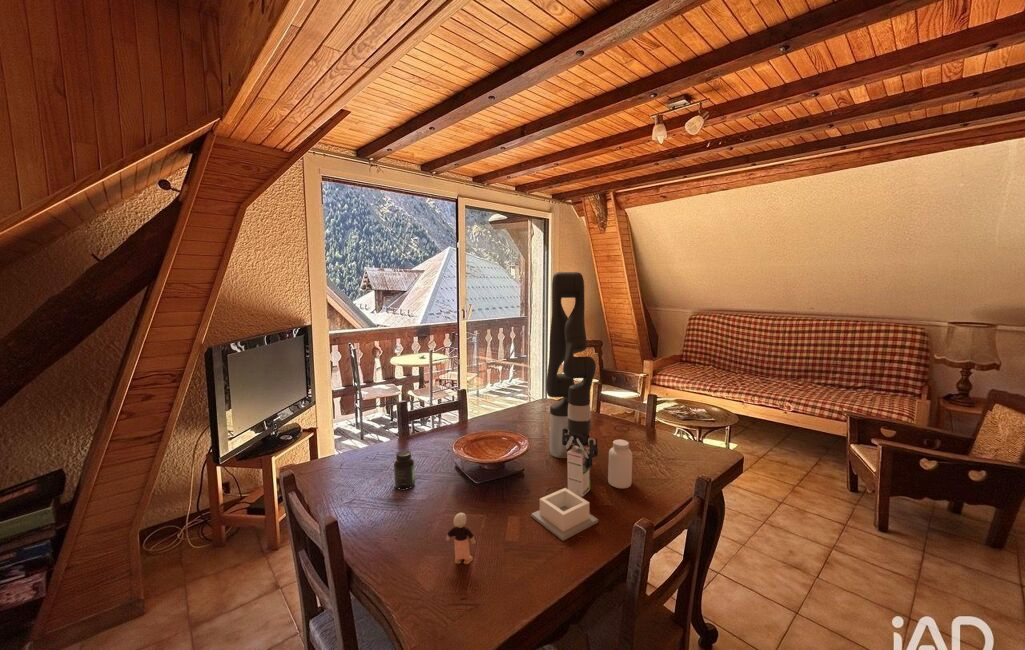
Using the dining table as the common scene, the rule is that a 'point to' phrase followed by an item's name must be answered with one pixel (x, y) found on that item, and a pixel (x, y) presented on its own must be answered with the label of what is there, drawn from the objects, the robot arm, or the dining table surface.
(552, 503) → the socket
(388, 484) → the dining table surface
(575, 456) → the syrup box
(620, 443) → the pill bottle
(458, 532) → the grandmother figurine
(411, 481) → the supplement bottle
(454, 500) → the dining table surface
